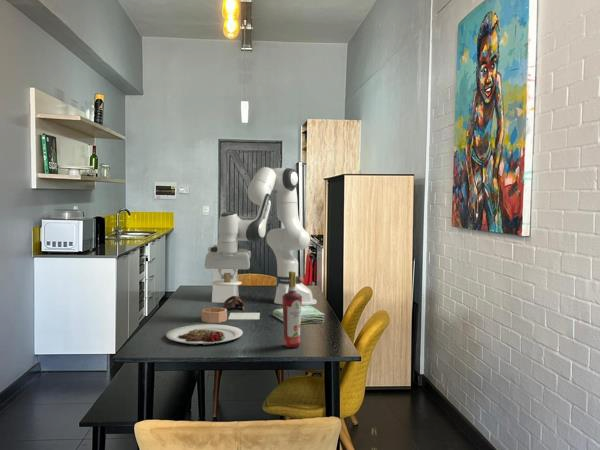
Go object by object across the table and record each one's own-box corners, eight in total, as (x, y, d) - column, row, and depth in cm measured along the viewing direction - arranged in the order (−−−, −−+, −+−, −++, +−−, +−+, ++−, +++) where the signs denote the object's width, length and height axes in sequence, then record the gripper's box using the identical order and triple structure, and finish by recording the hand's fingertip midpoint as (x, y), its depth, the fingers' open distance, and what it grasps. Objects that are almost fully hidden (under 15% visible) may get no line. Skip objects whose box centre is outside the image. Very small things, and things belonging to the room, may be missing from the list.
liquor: (295, 342, 216) (296, 270, 214) (305, 347, 209) (305, 272, 208) (278, 345, 212) (279, 271, 211) (287, 349, 206) (288, 273, 204)
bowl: (227, 318, 258) (227, 307, 257) (225, 323, 247) (225, 312, 247) (203, 318, 257) (203, 307, 257) (200, 323, 246) (200, 312, 246)
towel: (288, 327, 244) (288, 315, 243) (272, 317, 263) (272, 306, 263) (326, 323, 250) (326, 312, 250) (308, 314, 270) (308, 303, 270)
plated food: (192, 326, 243) (192, 318, 243) (255, 332, 232) (255, 324, 232) (150, 342, 216) (150, 333, 215) (219, 351, 205) (219, 341, 204)
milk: (238, 298, 307) (238, 251, 306) (234, 302, 296) (234, 253, 294) (217, 298, 308) (217, 250, 307) (211, 302, 297) (211, 253, 295)
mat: (259, 314, 268) (259, 312, 268) (259, 320, 254) (259, 319, 254) (230, 314, 267) (230, 312, 267) (228, 320, 253) (228, 319, 253)
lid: (242, 282, 261) (242, 271, 261) (241, 286, 248) (241, 275, 248) (214, 281, 260) (214, 271, 260) (211, 285, 247) (211, 274, 247)
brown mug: (245, 313, 271) (236, 299, 269) (228, 321, 273) (219, 307, 271) (248, 302, 282) (240, 289, 280) (232, 310, 284) (224, 296, 282)
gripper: (251, 248, 257) (250, 278, 258) (206, 247, 256) (205, 277, 257) (250, 249, 251) (250, 280, 252) (204, 248, 250) (203, 279, 250)
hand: (227, 279), depth 254 cm, fingers closed on lid, 3 cm apart
